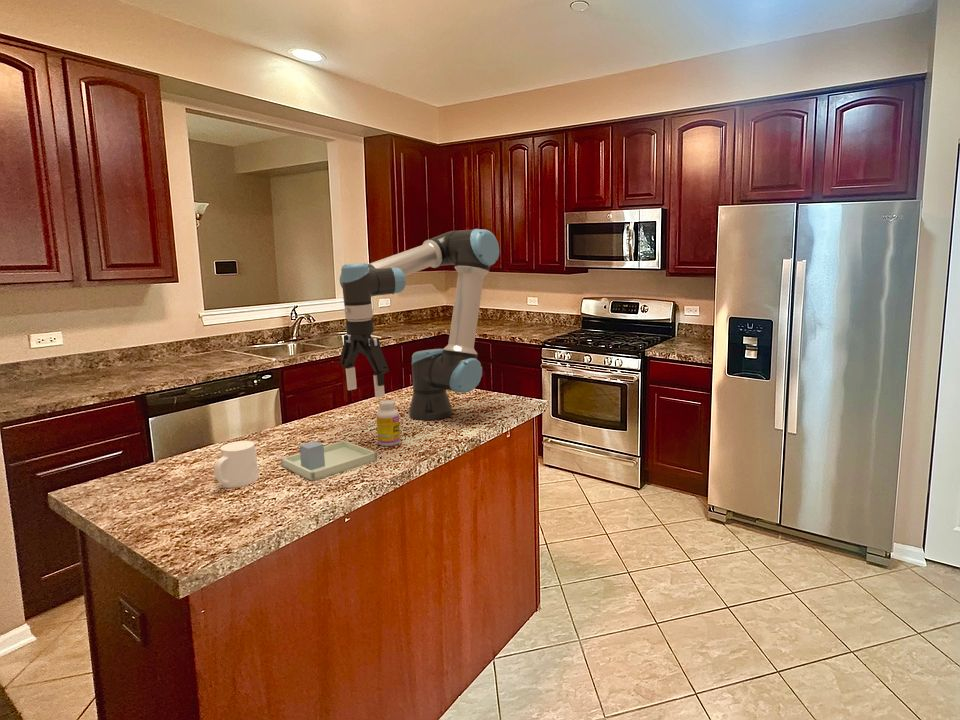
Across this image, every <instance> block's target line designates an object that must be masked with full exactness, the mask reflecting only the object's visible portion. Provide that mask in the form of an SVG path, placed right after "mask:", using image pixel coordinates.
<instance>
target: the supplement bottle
mask: <svg viewBox="0 0 960 720" xmlns="http://www.w3.org/2000/svg"><path fill="white" fill-rule="evenodd" d="M378 407H379V410H377V411H376V415H375V416H376V431H377V432H376V434H377V435H376V436H377V444H379V446H382V447H393V446H397V445H398V444H399V443H400V442H401V440H400V439H401V437H400V435H401V432H400V413H399V410H398V409H396V401H395V400H391V399H387V400H381V401H379V402H378Z"/></svg>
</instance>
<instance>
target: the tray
mask: <svg viewBox="0 0 960 720" xmlns="http://www.w3.org/2000/svg"><path fill="white" fill-rule="evenodd" d="M377 453H378V452H376V451H374V450H371V449H369V448H365V447H363V446H360V445H357V444H355V443H353V442H349V441H347V440H341V441H337V442H333V443H329V444H327V445H324V458H325V466H323V467H320V468H316V469H313V470H309V469H307V468H305V467H302V466H301V458H300V452H299V453H296V454H292V455H288V456H285V457H282V458H280V463H281V464H280V465H281V467H282V468H285V470H286V469H287V470H288V471H291V472H292V473H295V474H296V475H299V476H300V477H303V478H304V479H306V480H309V481H311V482H315V481H318V480H320V479H324V478H327V477H329V476H333V475H336V474H338V473H341V472H345V471H348V470H351V469H354V468H357V467H360V466H363V465H366V464H369V463H372V462H375V461H378V454H377Z"/></svg>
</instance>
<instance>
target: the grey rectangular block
mask: <svg viewBox="0 0 960 720" xmlns="http://www.w3.org/2000/svg"><path fill="white" fill-rule="evenodd" d="M324 446H325V445H324V443H321V442H318V441H316V440H314V441H309V442H305V443H302V444H299V453H300V458H301V466H302V467H305V468H307V469H309V470H313V469H316V468H320V467H323V466H325V458H324Z"/></svg>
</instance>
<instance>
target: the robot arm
mask: <svg viewBox="0 0 960 720" xmlns="http://www.w3.org/2000/svg"><path fill="white" fill-rule="evenodd" d="M499 256H500V246H499V242H498V240H497V238H496V236H495V234H493V232H491V231H490V230H488V229H484V228H483V229H480V228H474V229H464V230H463V229H462V230H451V231H447V232H445V233H442V234H440V235H437V236H434V237H432V238H429V239H426V240H424V241H423V243H422V245H419V246H416V247H413V248H410V249H408V250H404V251H402V252H398V253H396V254H393V255H390V256H387V257H384V258H381V259H379V260H375V261H372V262H370V263H366V262H365V263H364V262H363V263H362V262H360V263H359V262H358V263H357V262H356V263H346V264H345V263H344V264H343V265H342V266H341V268H340V269H341V270H340V274H339V275H340V276H339V284H340V287H341V289H342V296H343V297H342V298H343V305H344V315H345V316H344V317H345V319H346V322H345V328H346V329H345V330H346V334H345V335H343V345H342V349H341V350H342V351H341V355H340V361H339V365H340V366H343V368H344V369H345V377H346V385H347V386H346V387H347V391H352V390H356V389H358V387H357V378H356V377H357V375H356V367H355V366H356V365H355V362H356V360H357V358H358V356H359V354H363V356H365V357H366V359H367V361H368V363H369V364H370V367H371V368H372V370H373V372H374V374H373V386H374V397H375V398H376V399H378V398H381V397H385V396H386V395H385V376H384V375H385V373H388V372H389V370H390V369H389V367H388V363H387V361H386V358H385V356H384V353H383V350H382V348H381V345H380V344H381V343H380V338H379V337H375V338H372V333H374V332H375V329H374V320H373V319H372V318H373V317H374V315H373V314H374V312H373V303H372V297H376V296H378V297H379V296H384V295H385V296H386V295H395V294H398V293H401V292H402V291H404V289H405V287H406V285H407V282H406V281H407V280H406V276H409V275H412V274H414V273H417V272H420V271H422V270H425V269H427V268H433V269H436V268H438V267H441V266H442V267H443V266H454V269H455V270H456V272H457V278H456V279H457V281H456V286H455V295H454V302H453V308H452V317H451V322H450V329H449V330H450V331H449V337H448V344H447V345H446V346H445V347H444V348H433V349H425V350H419V351H415V352H413V354H412V355H411V363H410V364H411V373H412V374H411V376H412V379H411V380H412V398H411V402H410V406H409V408H408V415H409V416H408V417H410V418H412V419H415V420H421V421H435V420H441V419H446V418H448V417H451V416H452V414H453V408H452V405H451V403H450V398H449V396H448V394H447V391H451V392H454V393H463V394H464V393H470V392H472V391H473V390H475V389H476V388H477V386H478V385H479V384H480V382H481V380H482V379H481V378H482V377H483V366H482V364H481V362H480V360H478V352H477V351H476V350H475V341H476V335H477V326H478V321H479V313H480V312H479V311H480V307H481V299H482V291H483V284H484V279H485V277H486V276H487V275H488V274H490V268H491V266H493V265H494V264H496V262H497V261H498V259H499Z"/></svg>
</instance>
